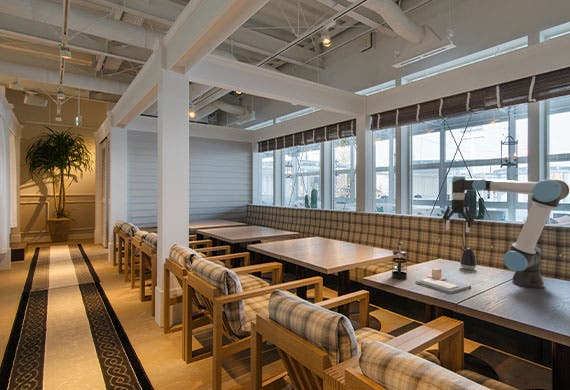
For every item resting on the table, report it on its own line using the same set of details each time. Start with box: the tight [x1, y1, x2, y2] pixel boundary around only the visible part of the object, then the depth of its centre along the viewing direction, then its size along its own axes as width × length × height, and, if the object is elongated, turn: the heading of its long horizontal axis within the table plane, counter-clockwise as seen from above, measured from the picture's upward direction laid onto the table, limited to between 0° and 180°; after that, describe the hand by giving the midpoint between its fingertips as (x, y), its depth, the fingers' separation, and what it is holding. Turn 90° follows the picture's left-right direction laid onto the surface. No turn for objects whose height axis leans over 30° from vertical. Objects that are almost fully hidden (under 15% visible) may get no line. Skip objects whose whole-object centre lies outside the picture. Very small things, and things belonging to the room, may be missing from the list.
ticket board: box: [415, 277, 472, 295], centre depth 190 cm, size 22×20×2 cm
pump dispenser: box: [459, 247, 478, 271], centre depth 228 cm, size 10×10×15 cm
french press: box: [391, 241, 408, 281], centre depth 206 cm, size 12×9×23 cm
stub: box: [426, 267, 447, 281], centre depth 199 cm, size 9×6×6 cm, turn 31°
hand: (457, 231), depth 215 cm, fingers open, 13 cm apart
